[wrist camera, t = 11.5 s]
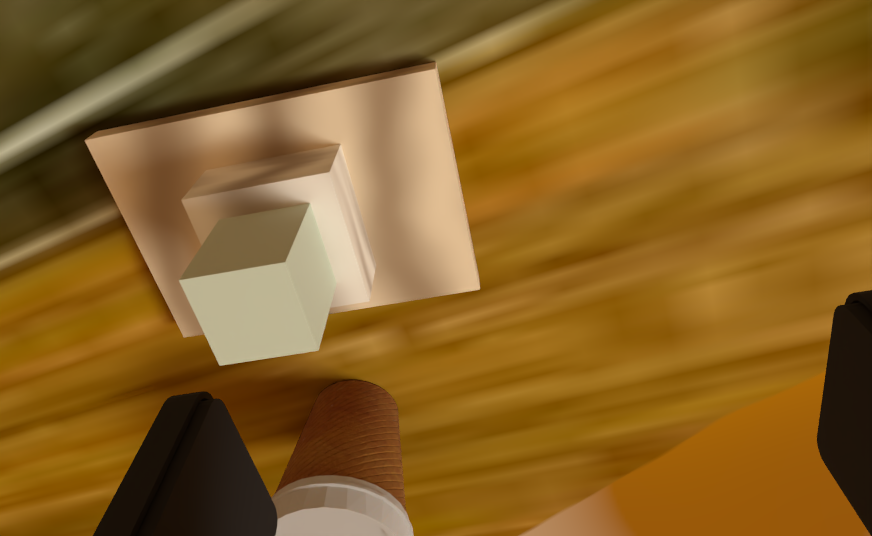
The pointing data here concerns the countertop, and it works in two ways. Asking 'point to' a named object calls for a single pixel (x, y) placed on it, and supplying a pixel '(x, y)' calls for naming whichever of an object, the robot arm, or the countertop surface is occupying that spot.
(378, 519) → the disposable coffee cup
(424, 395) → the countertop surface
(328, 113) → the stack base
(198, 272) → the sage block
